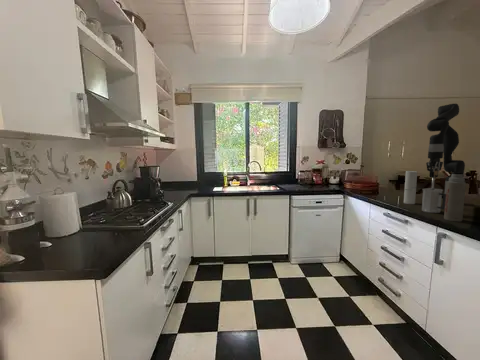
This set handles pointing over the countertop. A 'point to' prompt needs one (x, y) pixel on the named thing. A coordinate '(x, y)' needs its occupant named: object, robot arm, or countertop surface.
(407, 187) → the cylindrical container
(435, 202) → the press body
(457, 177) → the thermos bottle
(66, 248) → the countertop surface
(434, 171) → the plunger
